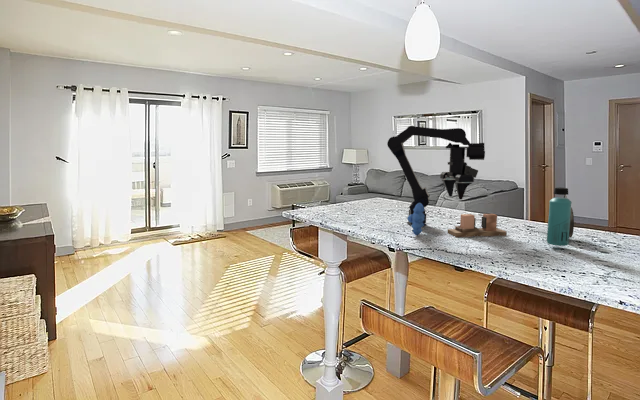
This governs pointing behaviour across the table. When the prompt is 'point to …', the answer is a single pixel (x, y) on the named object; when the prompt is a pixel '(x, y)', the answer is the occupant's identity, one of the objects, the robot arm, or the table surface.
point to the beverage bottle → (559, 219)
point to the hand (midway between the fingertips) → (455, 197)
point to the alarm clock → (571, 221)
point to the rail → (487, 228)
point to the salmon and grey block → (467, 221)
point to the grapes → (417, 219)
